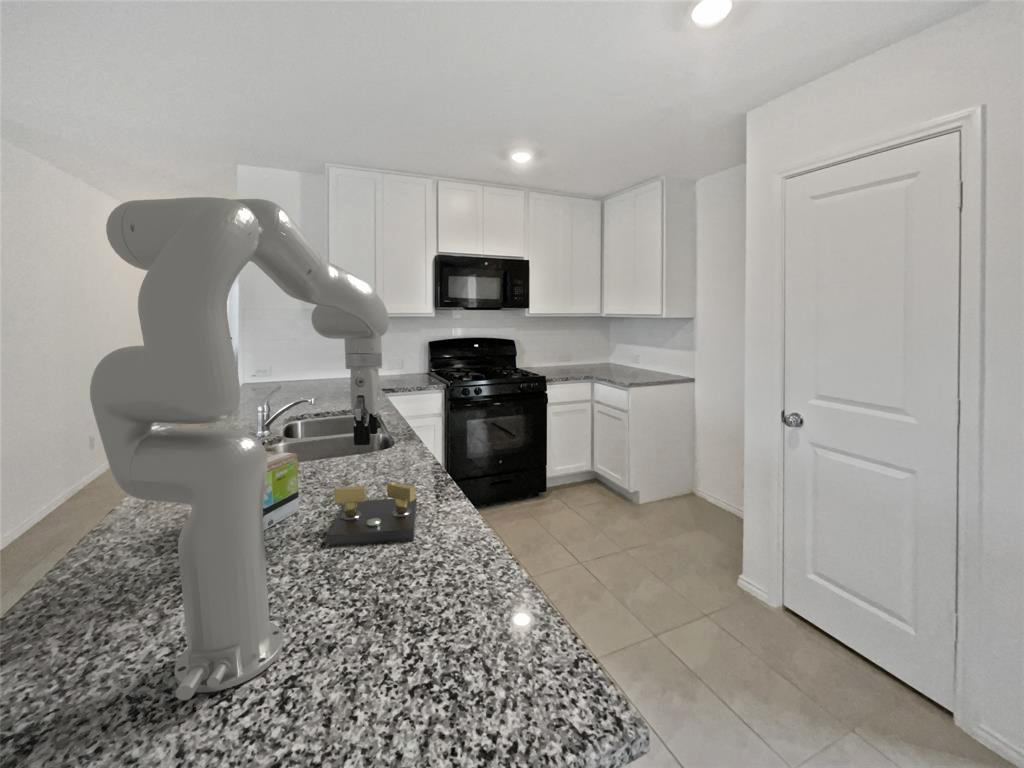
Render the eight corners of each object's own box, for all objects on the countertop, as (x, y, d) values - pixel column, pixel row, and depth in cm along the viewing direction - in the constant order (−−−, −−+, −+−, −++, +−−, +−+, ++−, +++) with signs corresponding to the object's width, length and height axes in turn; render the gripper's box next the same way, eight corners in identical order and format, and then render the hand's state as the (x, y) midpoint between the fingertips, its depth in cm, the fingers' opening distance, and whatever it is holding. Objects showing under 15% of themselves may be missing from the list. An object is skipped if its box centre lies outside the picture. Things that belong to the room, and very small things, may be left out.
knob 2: (409, 515, 102) (408, 488, 101) (386, 510, 105) (385, 484, 104) (416, 511, 105) (416, 484, 104) (394, 506, 107) (393, 480, 106)
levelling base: (413, 540, 97) (413, 526, 96) (328, 546, 94) (328, 532, 94) (416, 507, 114) (416, 495, 114) (345, 511, 112) (344, 499, 111)
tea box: (255, 538, 97) (250, 471, 95) (214, 534, 99) (209, 468, 97) (301, 510, 112) (297, 451, 110) (265, 507, 114) (261, 449, 112)
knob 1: (365, 515, 102) (364, 488, 101) (334, 517, 101) (333, 490, 100) (366, 510, 105) (365, 484, 104) (337, 512, 104) (336, 485, 103)
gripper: (375, 364, 91) (378, 448, 93) (387, 358, 108) (388, 430, 110) (336, 364, 90) (339, 450, 92) (353, 358, 107) (356, 430, 109)
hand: (366, 439), depth 101 cm, fingers open, 9 cm apart
